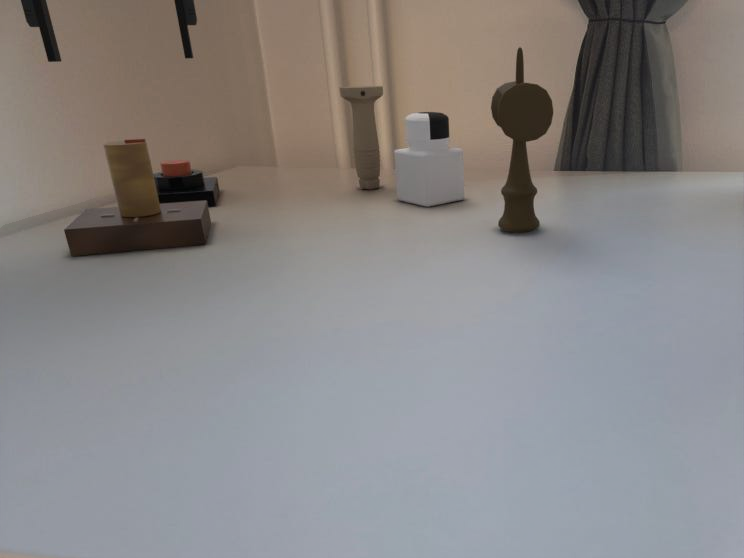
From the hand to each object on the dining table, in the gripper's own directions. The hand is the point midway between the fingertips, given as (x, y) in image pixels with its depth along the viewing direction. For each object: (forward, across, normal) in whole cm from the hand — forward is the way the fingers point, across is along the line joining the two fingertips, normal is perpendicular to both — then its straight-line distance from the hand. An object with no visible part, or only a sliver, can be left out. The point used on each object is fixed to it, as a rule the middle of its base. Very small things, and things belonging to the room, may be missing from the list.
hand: (124, 60), depth 75 cm
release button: (+16, +1, +21) cm, 26 cm away
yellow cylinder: (+16, -1, -2) cm, 17 cm away
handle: (+20, +29, +19) cm, 40 cm away
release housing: (+20, +1, +21) cm, 29 cm away
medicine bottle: (+20, +36, +6) cm, 41 cm away
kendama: (+20, +41, -15) cm, 48 cm away
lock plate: (+20, -2, -2) cm, 20 cm away
